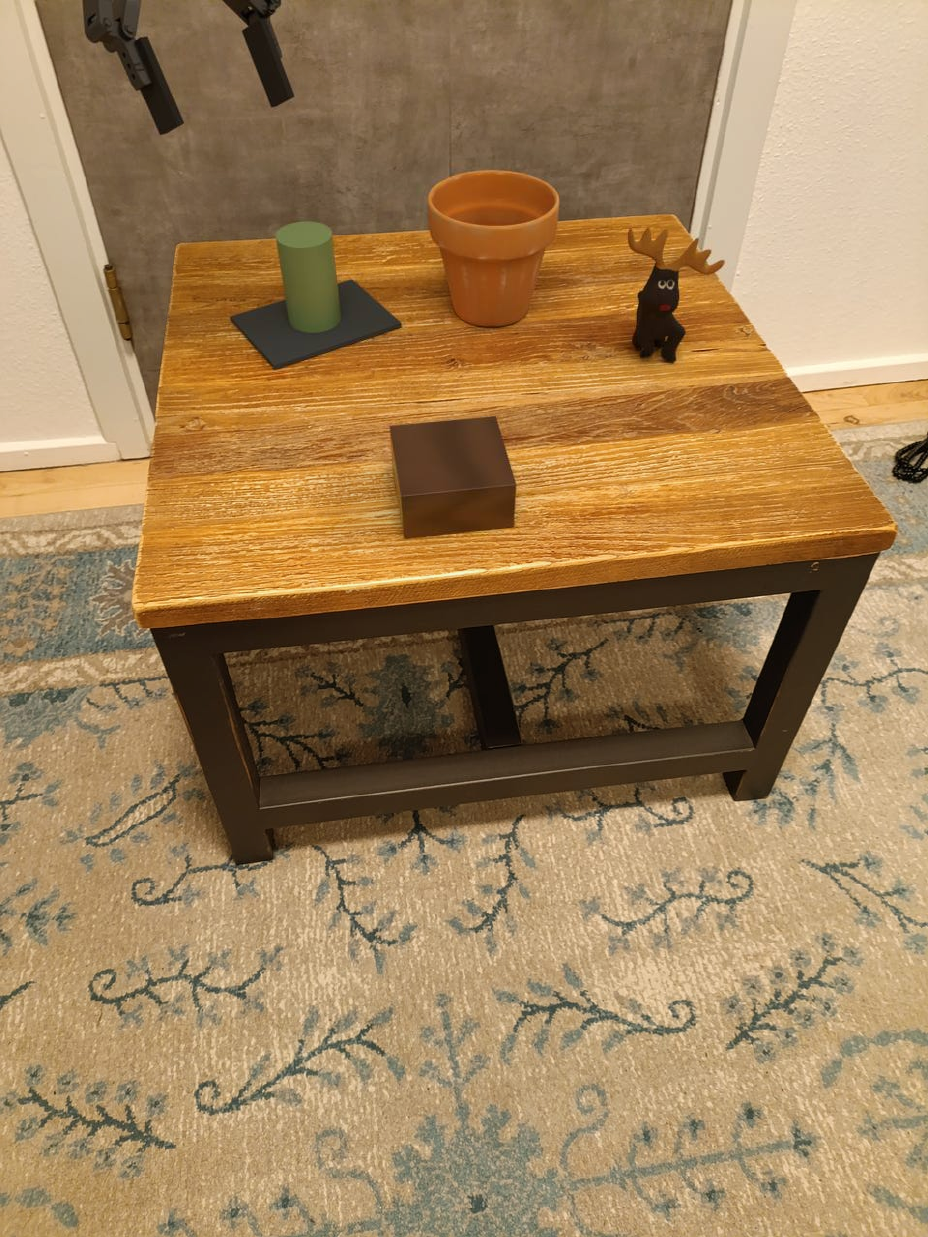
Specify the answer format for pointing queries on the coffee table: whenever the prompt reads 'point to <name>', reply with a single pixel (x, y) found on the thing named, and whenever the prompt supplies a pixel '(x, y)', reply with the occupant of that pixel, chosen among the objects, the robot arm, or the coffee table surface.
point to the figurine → (663, 295)
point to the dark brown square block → (452, 477)
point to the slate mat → (291, 346)
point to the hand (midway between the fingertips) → (230, 115)
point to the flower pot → (492, 241)
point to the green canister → (309, 276)
